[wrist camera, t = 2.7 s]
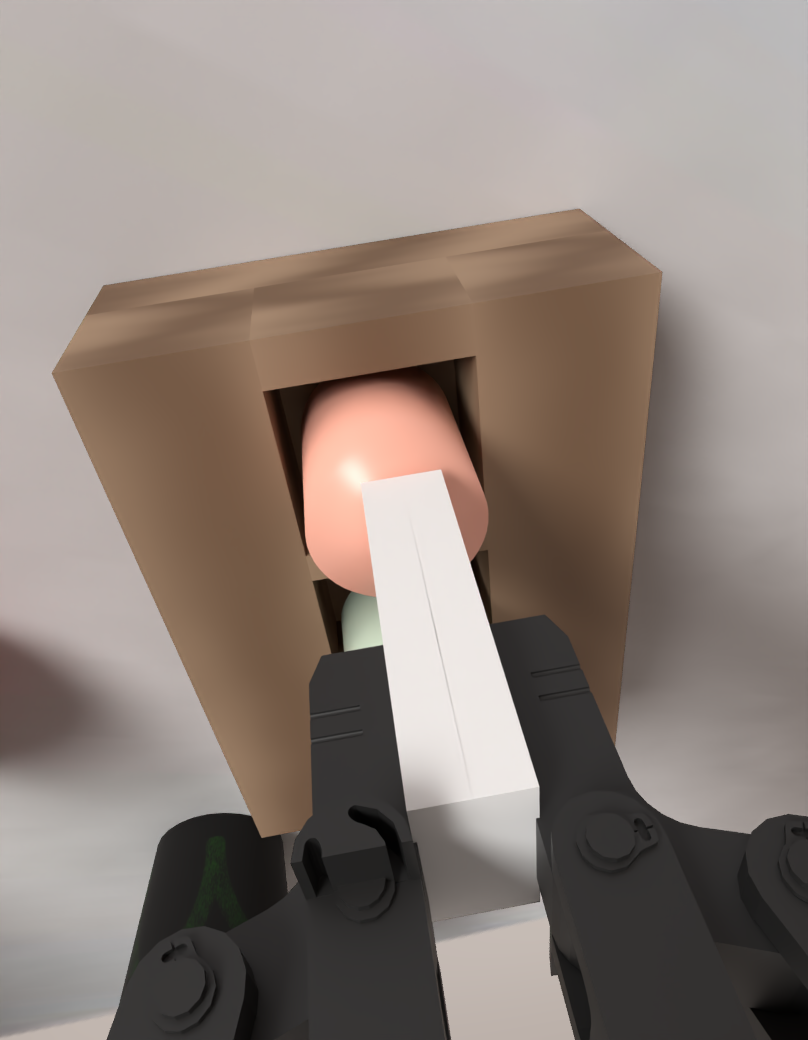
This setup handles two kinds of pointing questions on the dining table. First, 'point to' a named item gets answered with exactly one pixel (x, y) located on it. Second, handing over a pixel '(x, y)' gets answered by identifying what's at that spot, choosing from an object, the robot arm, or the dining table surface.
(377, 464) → the coral button
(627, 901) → the robot arm
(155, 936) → the cup
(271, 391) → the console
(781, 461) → the dining table surface
